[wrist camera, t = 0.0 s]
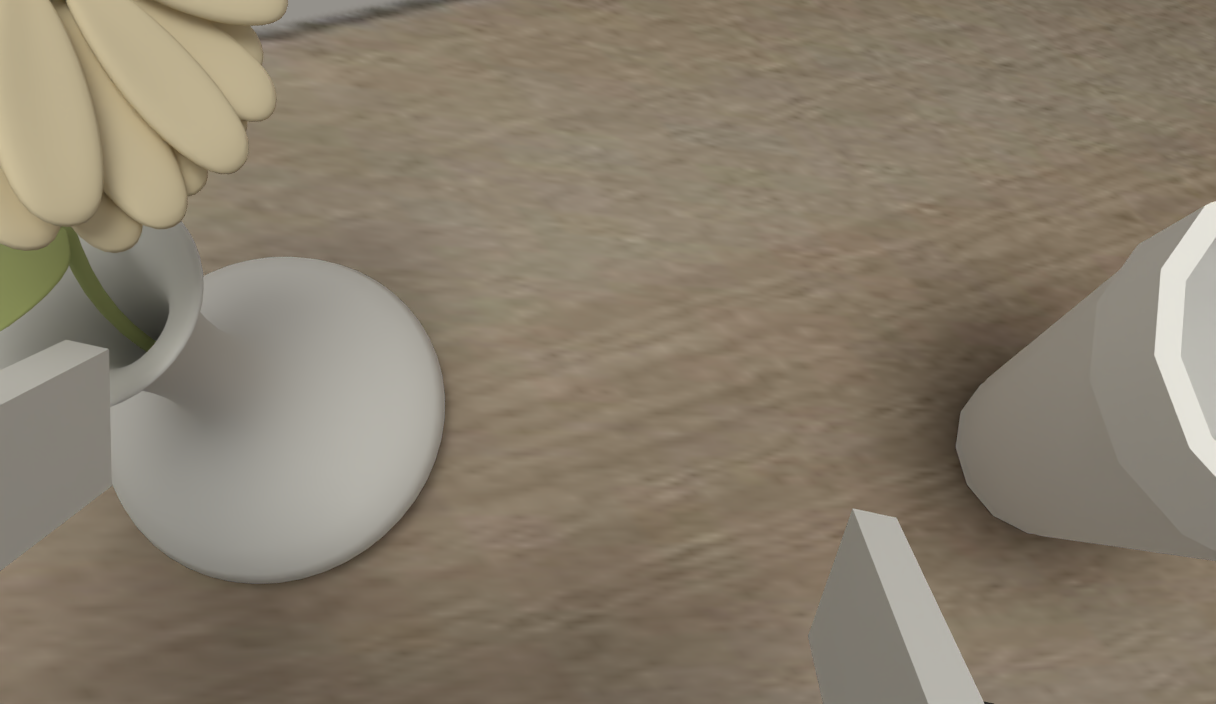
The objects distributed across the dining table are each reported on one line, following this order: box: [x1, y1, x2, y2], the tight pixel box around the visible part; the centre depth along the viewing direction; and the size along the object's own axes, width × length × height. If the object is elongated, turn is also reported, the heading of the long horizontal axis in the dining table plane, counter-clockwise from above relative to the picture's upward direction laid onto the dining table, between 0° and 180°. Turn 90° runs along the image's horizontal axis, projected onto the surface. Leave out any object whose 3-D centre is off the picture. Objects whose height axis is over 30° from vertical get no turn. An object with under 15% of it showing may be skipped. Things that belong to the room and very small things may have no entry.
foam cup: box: [956, 201, 1216, 561], centre depth 25 cm, size 10×9×13 cm
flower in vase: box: [0, 0, 445, 584], centre depth 18 cm, size 13×11×25 cm
